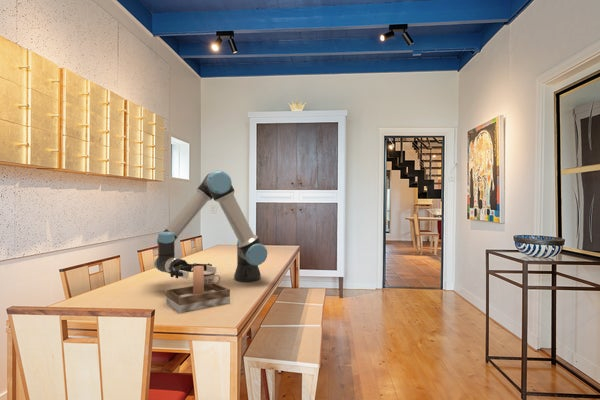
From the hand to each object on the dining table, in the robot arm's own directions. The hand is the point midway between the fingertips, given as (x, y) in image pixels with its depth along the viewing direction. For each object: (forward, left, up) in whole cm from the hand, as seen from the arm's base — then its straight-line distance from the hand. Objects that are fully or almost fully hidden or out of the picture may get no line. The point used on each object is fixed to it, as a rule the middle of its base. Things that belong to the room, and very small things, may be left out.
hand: (202, 272), depth 149 cm
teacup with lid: (-13, -22, -14) cm, 29 cm away
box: (0, -3, -14) cm, 14 cm away
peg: (0, -3, -14) cm, 14 cm away
